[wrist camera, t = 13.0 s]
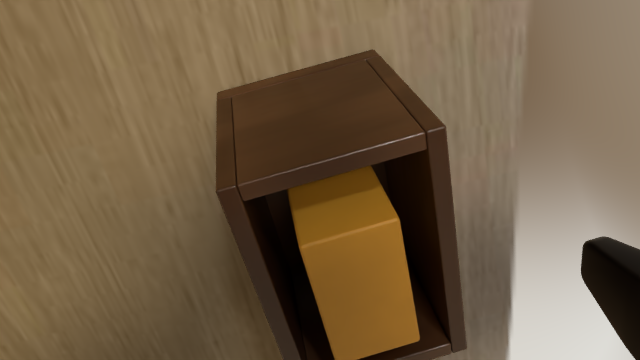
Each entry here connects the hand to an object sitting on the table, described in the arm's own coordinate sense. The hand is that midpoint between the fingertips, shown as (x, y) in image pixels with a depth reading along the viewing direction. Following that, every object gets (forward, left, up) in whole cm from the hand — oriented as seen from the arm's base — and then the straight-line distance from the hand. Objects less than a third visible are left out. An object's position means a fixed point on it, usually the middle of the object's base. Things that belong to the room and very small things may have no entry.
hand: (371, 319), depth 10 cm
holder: (0, 0, -6) cm, 6 cm away
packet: (0, 0, -6) cm, 6 cm away
